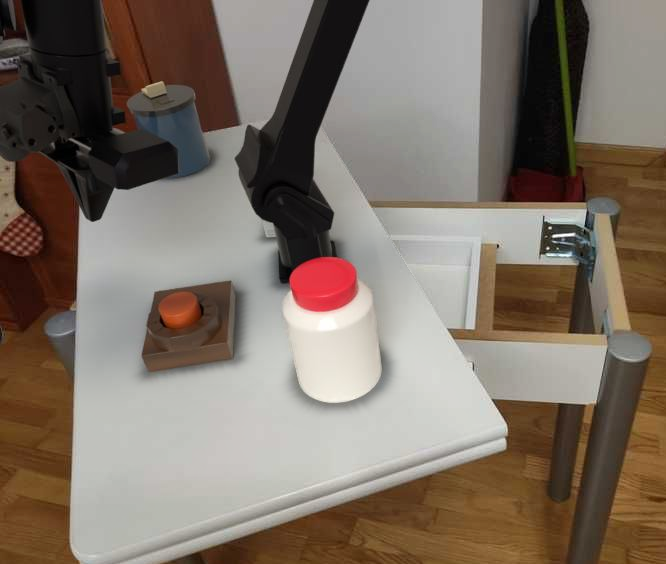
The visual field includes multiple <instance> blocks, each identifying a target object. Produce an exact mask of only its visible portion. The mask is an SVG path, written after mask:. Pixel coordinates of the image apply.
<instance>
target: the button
mask: <svg viewBox="0 0 666 564" xmlns="http://www.w3.org/2000/svg"><path fill="white" fill-rule="evenodd" d="M158 309H159V312H160V315H161V317H162V320H163V322H164V325H165V326H166V327H167V328H170V329H181V328H186V327H188V326H190V325H192V324H194V323H196V322H197V321H198V320H199V319H200V318H201V316H202V311H201V308H200V305H199V302H198V300H197V297H196V296H195V295H194V294H192V293H189V292H178V293H174V294H171V295H169V296H167V297H166V298H164V299H163V300H162V301H161V303H160V304H159V308H158Z"/></svg>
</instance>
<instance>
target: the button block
mask: <svg viewBox="0 0 666 564" xmlns="http://www.w3.org/2000/svg"><path fill="white" fill-rule="evenodd" d="M178 292H189V293H192V294H194V295H195V296H196V297H197V300H198V302H199V305H200V308H201V311H202V316H201V318H200V319H199V320H198V321H197V322H196V323H194V324H192V325H190V326H188V327H186V328H181V329H170V328H167V327H166V326H165V325H164V322H163V320H162V317H161V315H160V312H159V309H158V308H159V304H160V303H161V301H162V300H163V299H164V298H166V297H167V296H169V295H171V294H174V293H178ZM236 303H237V296H236V291H235V289H234V285H233V281H232V280H223V281H217V282H210V283H204V284H197V285H189V286H184V287H177V288H176V287H175V288H169V289H163V290H156V291H154V294H153V298H152V303H151V308H150V311H149V313H148V316H147V321H146V331H145V337H144V342H143V347H142V351H141V358H142V361H143V364H144V365H145V367H146V369H147V372H148V373H154V372H161V371H166V370H173V369H179V368H186V367H193V366H199V365H204V364H205V365H206V364H212V363H218V362H223V361H224V362H225V361H231V360H233V359H234V343H235V342H234V341H235V339H234V338H235V321H236Z"/></svg>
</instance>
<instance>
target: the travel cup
mask: <svg viewBox="0 0 666 564" xmlns="http://www.w3.org/2000/svg"><path fill="white" fill-rule="evenodd" d="M164 85H165V84H164ZM165 88H166V92H167V93H165V94H162V95H159V96H156V97H153V98H150V97H148V96H147V95H145V94H144V93H142V91H139V92H137V93H135V94H134V95H132V96H131V97H130V98H129V99H128V100H127V101H126V107H127V110H128V112H129V113H130V114H131V115H132V117H133V121H134V123H135V125H136V128H137V129H136V130H139V129H144V130H146V131H148V132H150V133H152V134H154V135H156V136H158V137H161V138H163V139H165V140H167V141H169V142H170V143H171V144H172V145H174V146H175V147H176V148H177V149H178V157H179V173H178V174H175V175H172V176H169V177H166V178H167V179H175V178H183V177H186V176H190V175H194V174H196V173H198V172H200V171H202V170H204V169H205V168H206V167H207V166H208V165H209V163H210V162H211V156H210V152H209V148H208V145H207V141H206V138H205V133H204V130H203V127H202V123H201V119H200V116H199V112H198V109H197V105H196V102H195V101H196V98H197V97H196V94H195V90H194V89H193V88H192V87H190V86H187V85H184V84H167V85H165ZM166 178H165V179H166Z"/></svg>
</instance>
